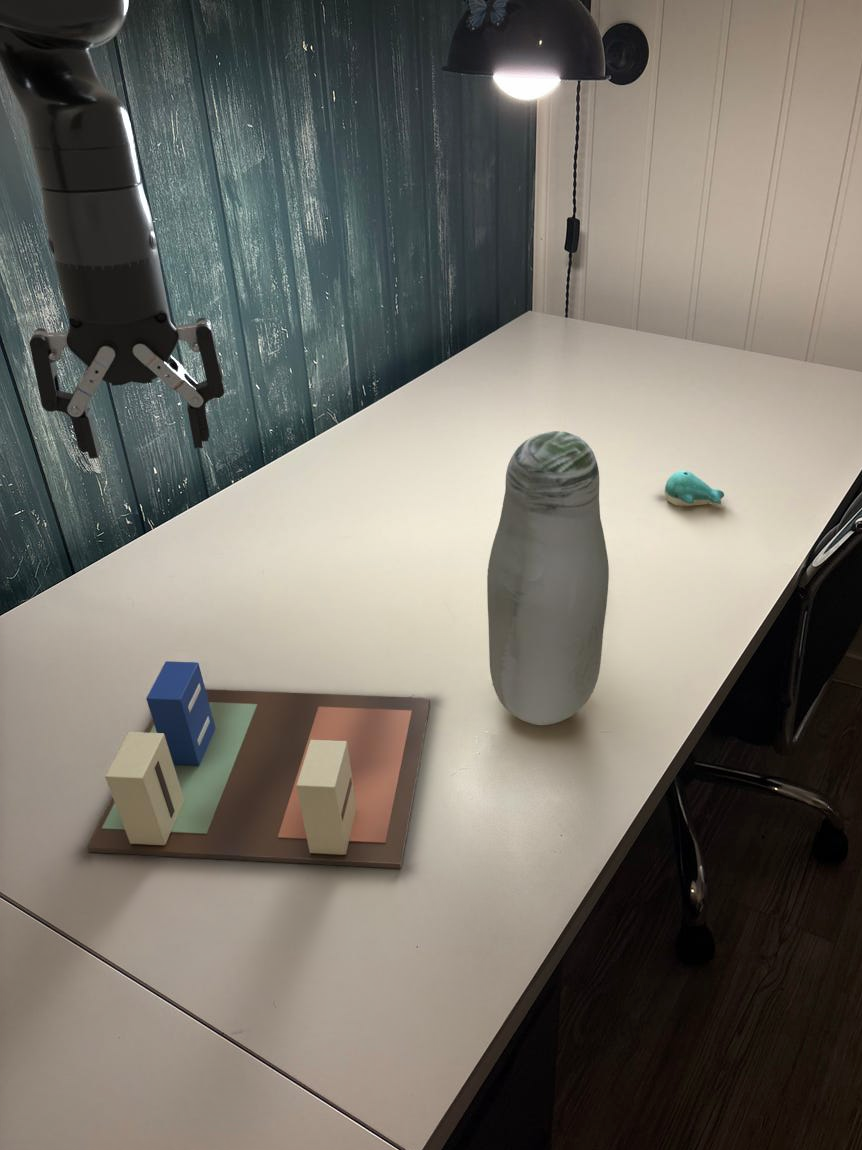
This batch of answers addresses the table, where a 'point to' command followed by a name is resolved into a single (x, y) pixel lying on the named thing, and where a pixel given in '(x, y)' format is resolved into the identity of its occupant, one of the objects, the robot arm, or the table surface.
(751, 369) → the table surface
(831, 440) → the table surface
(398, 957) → the table surface
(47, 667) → the table surface
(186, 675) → the blue rectangular block
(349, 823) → the tile
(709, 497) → the whale figurine
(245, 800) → the brown flat rectangular board
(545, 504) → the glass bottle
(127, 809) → the tile
